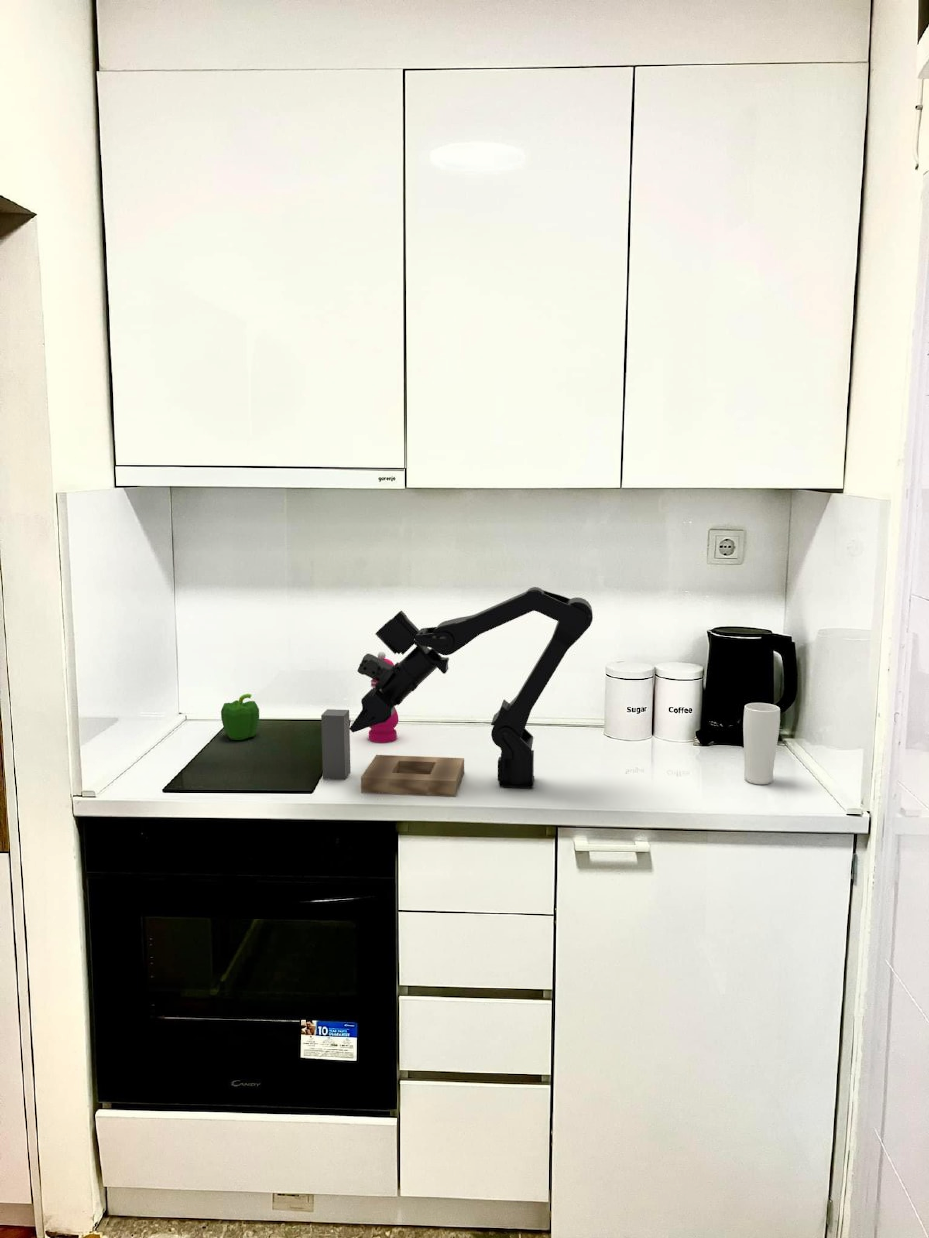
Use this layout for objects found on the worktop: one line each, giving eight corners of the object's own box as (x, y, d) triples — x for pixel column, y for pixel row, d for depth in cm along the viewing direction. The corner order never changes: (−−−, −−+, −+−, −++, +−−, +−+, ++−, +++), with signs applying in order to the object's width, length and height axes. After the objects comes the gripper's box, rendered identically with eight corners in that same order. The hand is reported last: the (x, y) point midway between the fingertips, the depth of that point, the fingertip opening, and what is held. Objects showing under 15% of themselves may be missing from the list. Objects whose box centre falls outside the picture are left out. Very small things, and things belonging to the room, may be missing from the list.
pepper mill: (397, 743, 214) (396, 655, 211) (364, 743, 214) (363, 655, 211) (399, 734, 221) (399, 648, 218) (368, 734, 221) (367, 648, 218)
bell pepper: (216, 742, 215) (214, 698, 213) (230, 731, 223) (228, 689, 222) (252, 743, 214) (250, 699, 212) (265, 733, 222) (263, 690, 220)
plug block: (350, 772, 195) (349, 709, 193) (345, 779, 190) (343, 715, 188) (328, 771, 195) (327, 709, 193) (322, 778, 191) (321, 715, 189)
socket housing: (464, 772, 195) (464, 758, 194) (455, 796, 181) (455, 781, 181) (376, 768, 197) (376, 754, 196) (361, 792, 183) (360, 777, 183)
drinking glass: (761, 773, 194) (765, 701, 192) (783, 784, 188) (788, 709, 186) (733, 777, 192) (736, 704, 189) (754, 788, 186) (758, 712, 183)
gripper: (392, 632, 196) (339, 683, 199) (372, 651, 178) (315, 706, 181) (430, 672, 197) (377, 722, 200) (414, 694, 178) (356, 749, 182)
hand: (356, 723), depth 191 cm, fingers open, 9 cm apart
